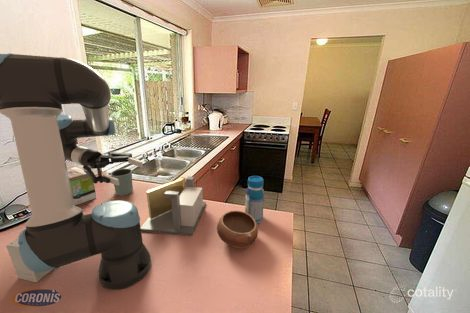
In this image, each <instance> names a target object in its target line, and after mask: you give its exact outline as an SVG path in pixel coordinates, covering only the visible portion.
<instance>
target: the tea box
mask: <svg viewBox="0 0 470 313" xmlns="http://www.w3.org/2000/svg"><path fill="white" fill-rule="evenodd" d="M67 172H68V177H69V181H70V186H71V191H72V196H73V201H74V205H75V206H78V205H81V204H84V203H87V202H89V201H91V200H94V199H97V193H96V186H95V183H94V182H93V181H92V179H91V178H90V177H89V175H88V174H87V173H85V172H84V169H83V167H80V166H75V167H71V168H67Z"/></svg>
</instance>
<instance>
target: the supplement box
mask: <svg viewBox="0 0 470 313" xmlns="http://www.w3.org/2000/svg"><path fill="white" fill-rule="evenodd" d="M5 247H6V249H7V252H8V255H9V257H10V260H11V262H12V265H13V269H14V270H15V272H16V273H15V274H16V276H17V278H18V279H20V280H25V281H28V282H33V283H38V282H39V281H41V279H43V278H44V277H45V276H46V275H48V274H49V273H50V272H52V271H53V270H54V269H51V270H48V271H44V272H40V273H36V272H33V271H31V270H29V269H28V268H27V267H26V265H25V264H24V262H23V260H22V258H21V256H20V253H19V248H18V247H19V244H18V238H16V239H15V240H13V241H11V242H10V243H9V242H8V244H6V245H5Z"/></svg>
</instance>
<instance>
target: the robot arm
mask: <svg viewBox="0 0 470 313" xmlns="http://www.w3.org/2000/svg"><path fill="white" fill-rule="evenodd" d="M111 97H112V95H111V88H110V86H109V84H108V82H107V81H106V80H105V78H104V77H103V76H102V75H101V74H100V73H99V72H98V71H96V70H95V69H93V68H92V67H91V66H89V65H87V64H85V63H83V62H81V61H79V60H77V59H72V58H70V57H58V56H57V57H56V56H43V55H42V56H41V55H32V54H29V55H28V54H19V53H18V54H16V53H0V114H1V115H3V116H4V117H6V118H8V119H9V120H10V124H11V127H12V133H13V136H14V142H15V144H16V146H15V147H16V150H17V154H18V155H17V156H18V159H19V163H20V168H21V172H22V176H23V181H24V185H25V189H26V194H27V198H28V203H29V207H30V212H31V216H30V217H29V218H28V219H27V221H26V222H25V223H24V225H25V229H23V230H21V232H19V234H18V238H17V239H18V244H19V247H18V248H19V253H20V256H21V258H22V260H23V262H24V264H25V265H26V267H27V268H28V269H29V270H31V271H33V272H36V273H40V272H44V271H48V270H51V269H53V270H57V269H59V268H61V267H64V266H67V265H71V264H73V263H76V262H79V261H83V260H85V259H89V258H91V257H94V256H97V255H100V262H99V268H98V271H97V272H98V273H97V274H98V280H99V283H100V285H101V286H102V287H103V288H104V289H108V290H113V291H115V290H116V291H117V290H123V289H126V288H130V287H131V286H133V285H135V284H137V283H138V282H140V281H141V280H142V279H144V277H145V276H146V275H147V274H148V272H149V271H150V270H151V269H150V268H151V267H152V259H151V258H152V257H151V253H150V252H149V250H148V248H147V247H146V245H145V243H144V242H143V235H142V231H141V223H140V221H141V217H140V215H139V214H140V213H139V210H138V207H137V206H136V205H135V204H134V203H133V202H130V201H127V200H121V199H120V200H117V199H116V200H109V201H105V202H103V203H102V202H101V203H100V204H97V205H96V206H94V208H93V209H92V211H91V212H90V213H89V214H84V212H83V209H82V208H81V207H79V206H78V205H75V204H74V201H73V196H72V191H71V186H70V181H69V177H68V172H67V169H68V167H67V163H66V160H67V161H70V162H73V163H75V164H78V165H81V166H82V168H83V169H84V172H85V173H87V174H88V175H89V177H90V178H91V179H92V181H93V182H94V185H95V184H98V183H100V184H102V183H106V184H113V185H114V184H115V185H117V186H119V185H120V184H119V179H117V178H114V177H111V175H108V174H106V173H104V174H103V173H102V168H103V169H104V168H105V167H107V166H109V165H113V164H115V163H116V164H117V163H127V162H128V163H129V164H131V165H133V166H136V167H139V168H143V161H142V160H140V159H137V158H134V157H133V153H130V152H129V153H128V152H116V151H115V152H113V151H108V152H107V154H102V153H101V152H100V151H98V150H94V149H92V148H89V147H86V146H84V145H81V144H79V143H78V139H81V138H93V137H94V138H95V137H103V136H104V137H108V136H112V135H113V136H114V135H115V134H116V128H115V122H114V119H113V118H111V117H110V116H109V103H110V101H111ZM71 104H72V105H73V104H74V105H76V104H77V105H80V106H81V108H82V111H83V114H84V117H85V119H73V117H72V116H71V115H69V114H64V113H63V111H64V110H63V106H62V105H71ZM92 169H97V176H96V174H95V173H94V171H93V170H92ZM51 271H52V270H51Z"/></svg>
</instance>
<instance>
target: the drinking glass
mask: <svg viewBox="0 0 470 313" xmlns="http://www.w3.org/2000/svg"><path fill="white" fill-rule="evenodd" d="M110 176H111V177H114V178H117V179H119V184H120V185H119V186H117V185H115V184H113V186H114V191H115V192H114V193H115V194H116V195H117V196H126V195H129V193H130V194H132V192H133V191H134V188H133V170H132V169H131V168H118V169H114V170H113V171H112V172H110Z"/></svg>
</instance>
